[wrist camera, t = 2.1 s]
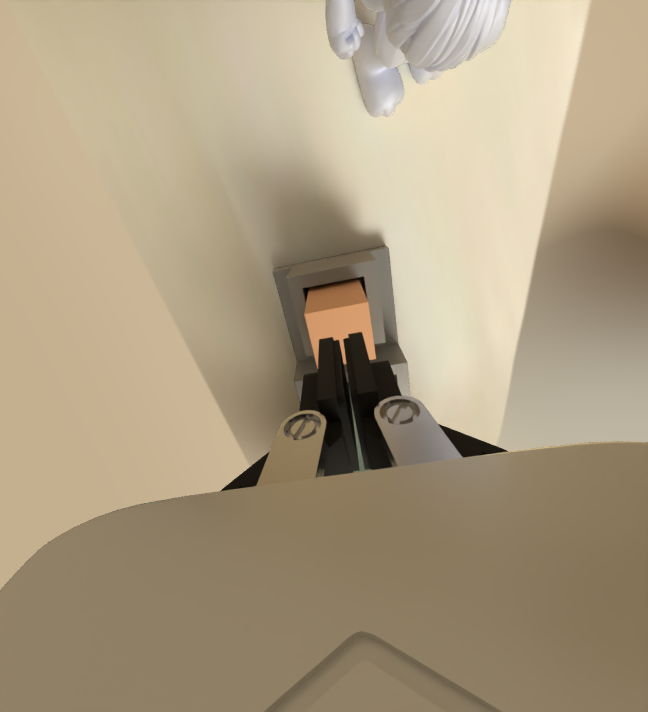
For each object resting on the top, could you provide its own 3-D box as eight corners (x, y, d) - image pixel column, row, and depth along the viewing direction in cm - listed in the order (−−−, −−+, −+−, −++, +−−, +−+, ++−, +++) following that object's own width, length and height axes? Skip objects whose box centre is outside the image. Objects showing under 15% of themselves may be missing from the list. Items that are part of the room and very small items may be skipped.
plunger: (365, 324, 21) (376, 358, 17) (318, 333, 21) (317, 369, 17) (358, 278, 20) (368, 301, 15) (308, 288, 20) (304, 314, 15)
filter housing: (403, 417, 28) (414, 448, 25) (318, 430, 29) (317, 462, 25) (385, 245, 21) (398, 255, 18) (274, 268, 22) (265, 282, 19)
